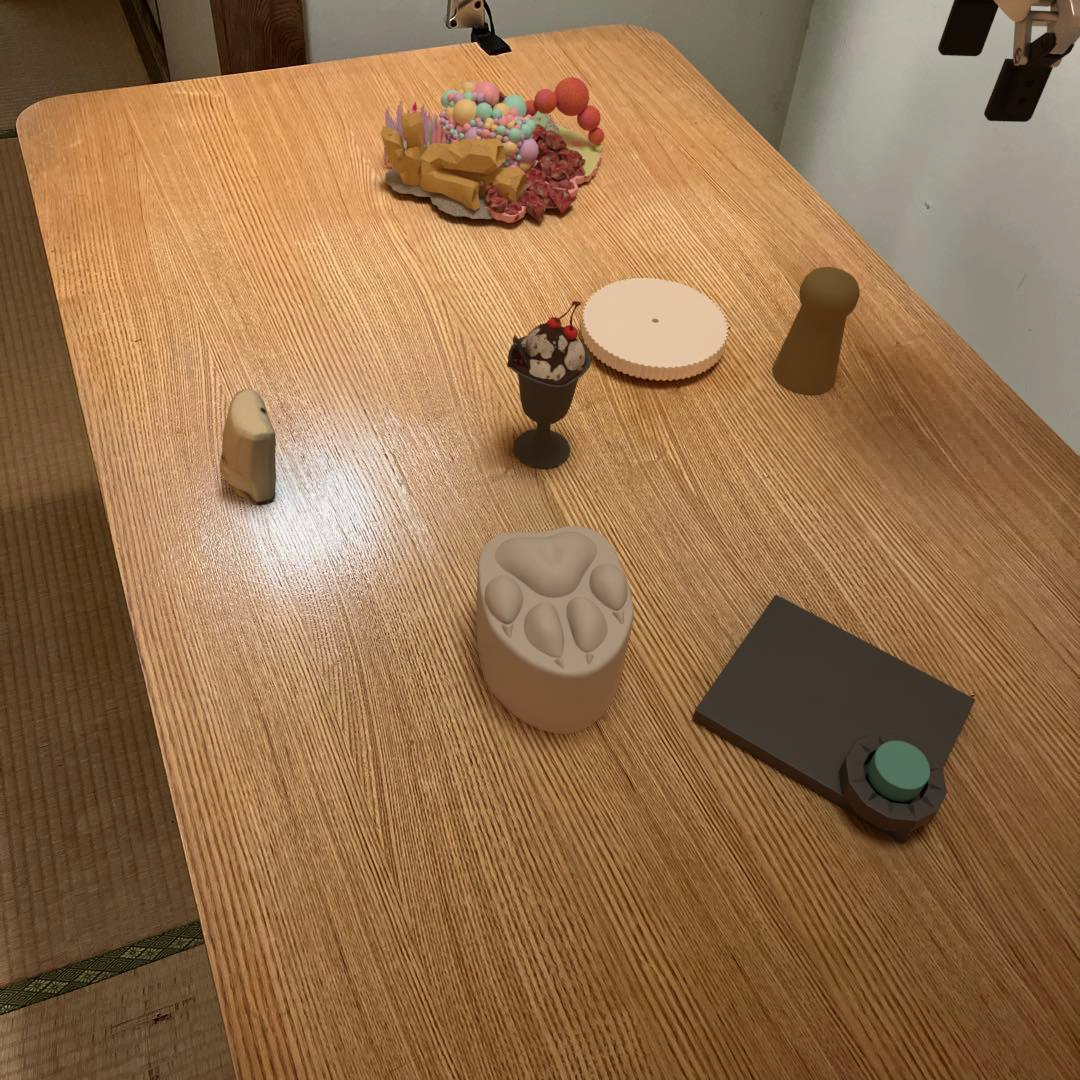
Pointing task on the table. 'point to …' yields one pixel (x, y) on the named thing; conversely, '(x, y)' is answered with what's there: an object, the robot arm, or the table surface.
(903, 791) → the scale button
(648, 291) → the plastic lid
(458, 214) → the candy landscape model
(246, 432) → the tan tall rounded block
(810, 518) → the table surface
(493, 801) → the table surface
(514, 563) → the lumpy-topped squat cylinder
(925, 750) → the scale
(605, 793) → the table surface
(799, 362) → the brown game pawn
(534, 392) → the sundae
